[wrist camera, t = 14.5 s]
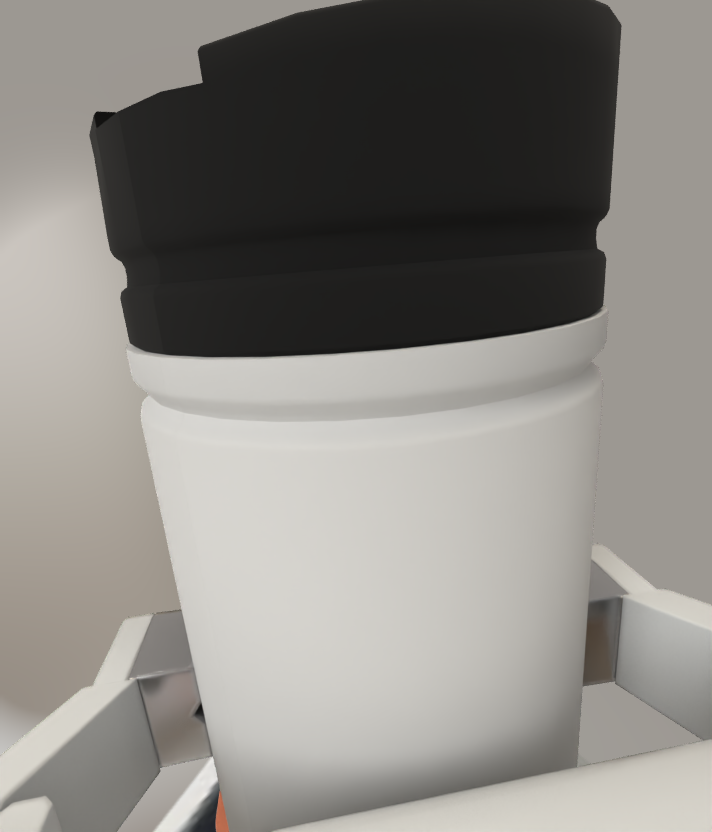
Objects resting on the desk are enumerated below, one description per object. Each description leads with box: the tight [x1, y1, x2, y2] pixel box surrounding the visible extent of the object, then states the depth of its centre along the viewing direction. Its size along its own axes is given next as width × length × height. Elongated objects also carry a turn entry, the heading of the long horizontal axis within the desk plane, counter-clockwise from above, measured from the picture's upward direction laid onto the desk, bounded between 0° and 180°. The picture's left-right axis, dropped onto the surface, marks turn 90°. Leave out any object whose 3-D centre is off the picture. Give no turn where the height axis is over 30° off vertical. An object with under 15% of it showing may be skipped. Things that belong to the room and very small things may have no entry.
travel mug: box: [90, 0, 621, 832], centre depth 9 cm, size 6×7×20 cm
